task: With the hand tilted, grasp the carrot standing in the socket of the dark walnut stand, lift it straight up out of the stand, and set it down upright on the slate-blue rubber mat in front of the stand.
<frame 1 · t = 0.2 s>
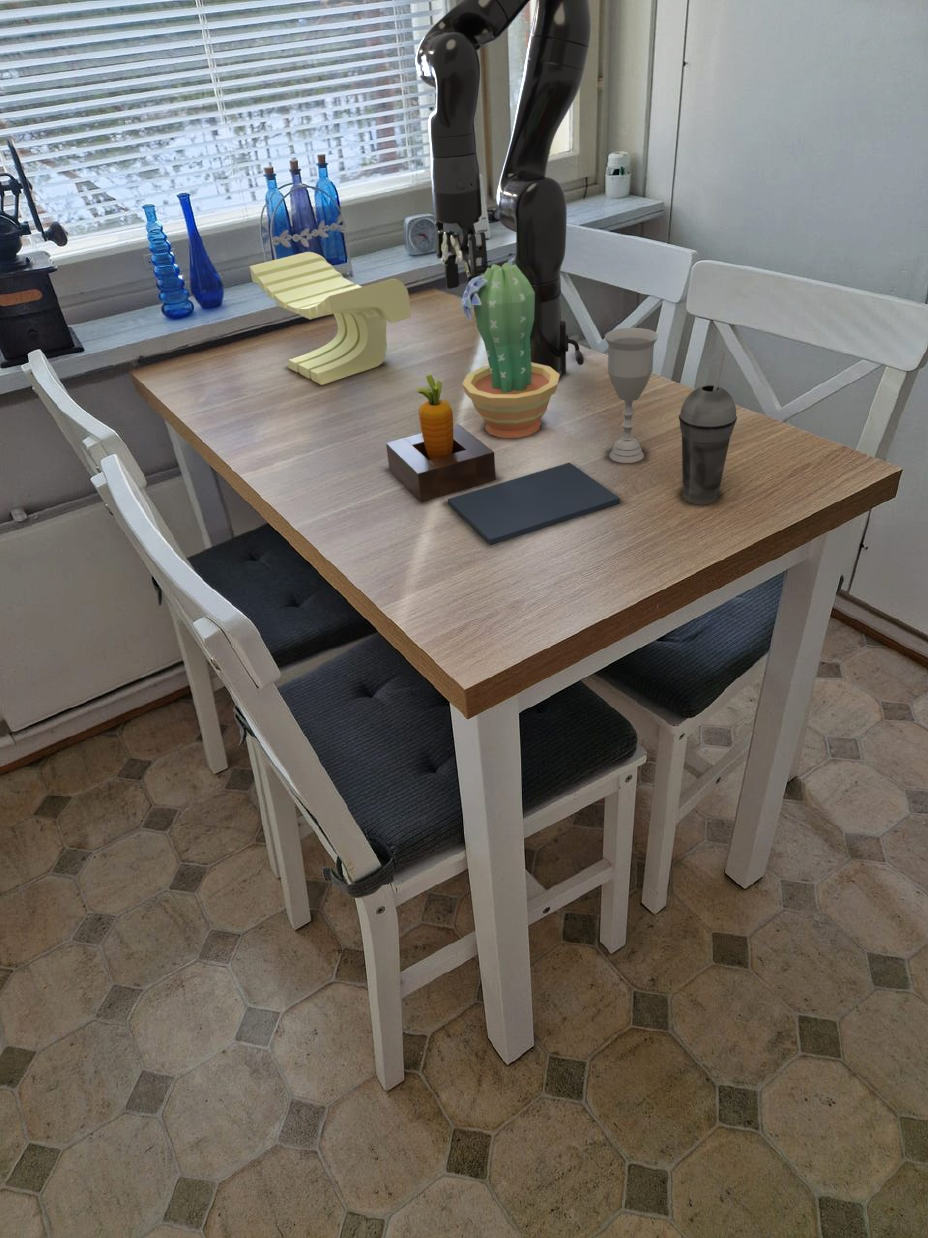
hand: (463, 293, 146), 17 cm above the table, tool pointing down, fingers open, 8 cm apart
stand: (441, 474, 131), on the table
potted cactus: (513, 427, 143), on the table
beverage cup: (699, 497, 121), on the table
slatted curved stool: (340, 365, 172), on the table
mat: (532, 503, 122), on the table
chalice: (626, 456, 132), on the table
carrot: (441, 476, 131), resting in stand
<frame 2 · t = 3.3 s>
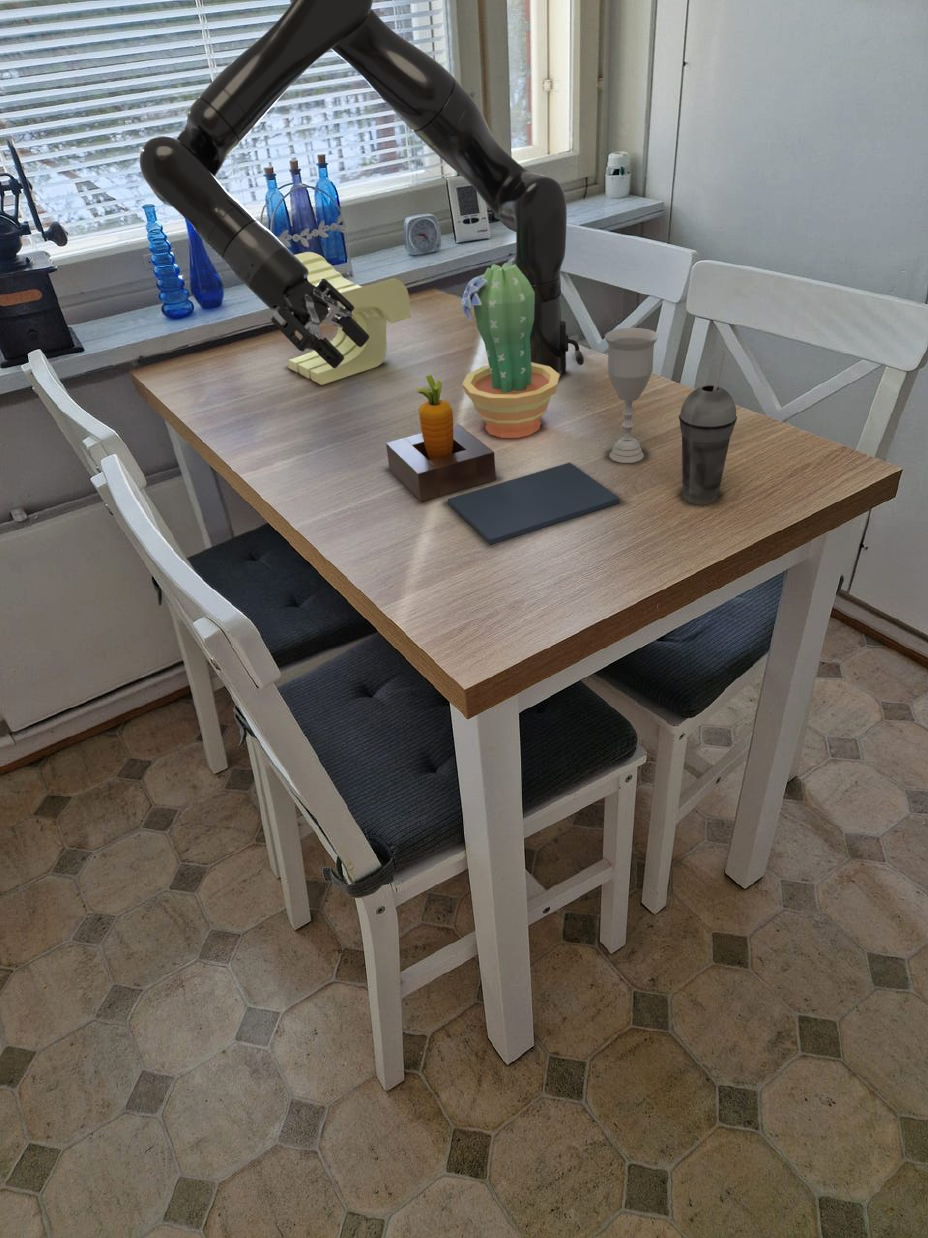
hand: (353, 352, 124), 18 cm above the table, tool tilted 45°, fingers open, 8 cm apart
nothing on the table moved.
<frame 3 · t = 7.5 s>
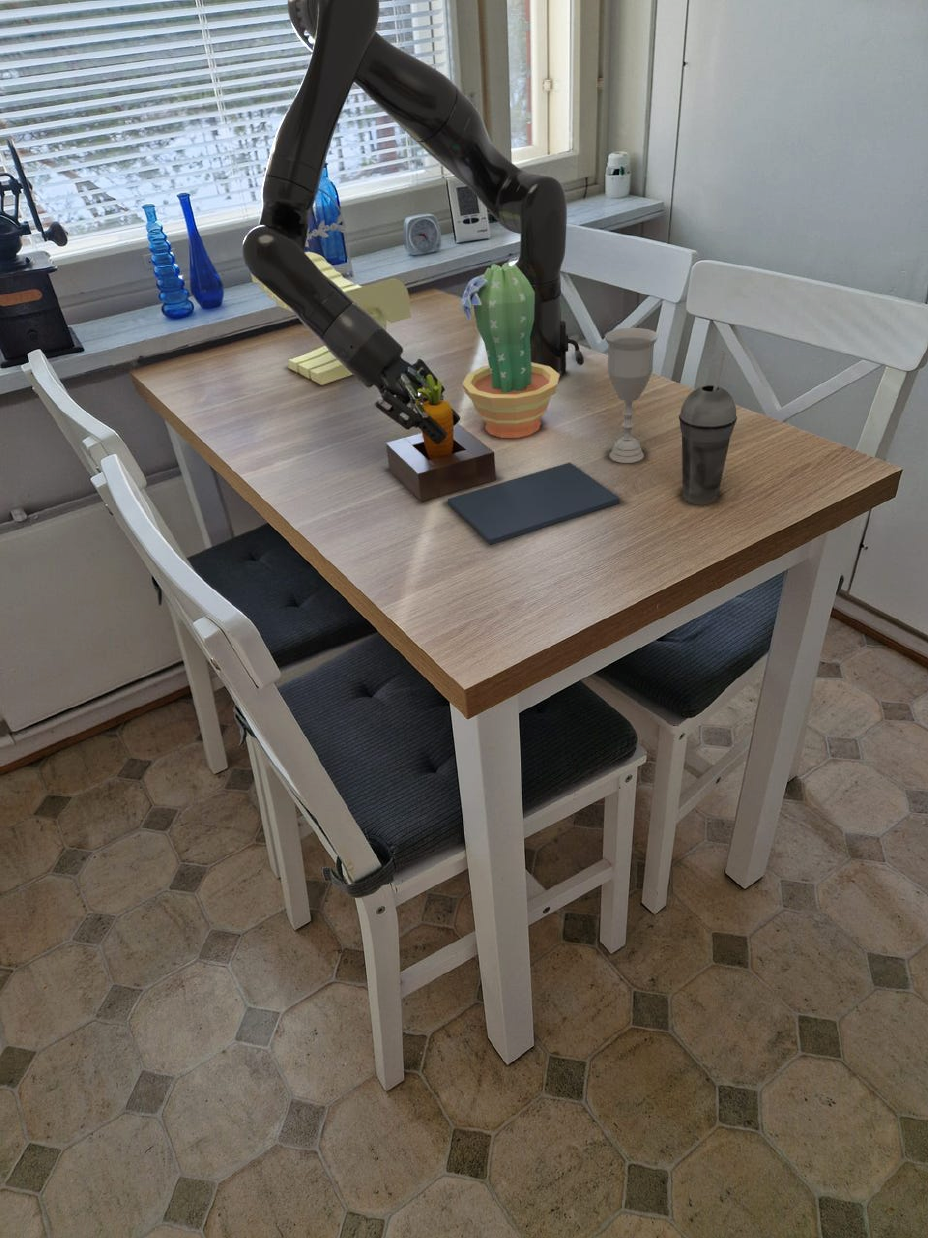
hand: (449, 431, 126), 7 cm above the table, tool tilted 45°, fingers closed on carrot, 5 cm apart
carrot: (441, 476, 131), resting in stand, touching gripper
everything else where it was.
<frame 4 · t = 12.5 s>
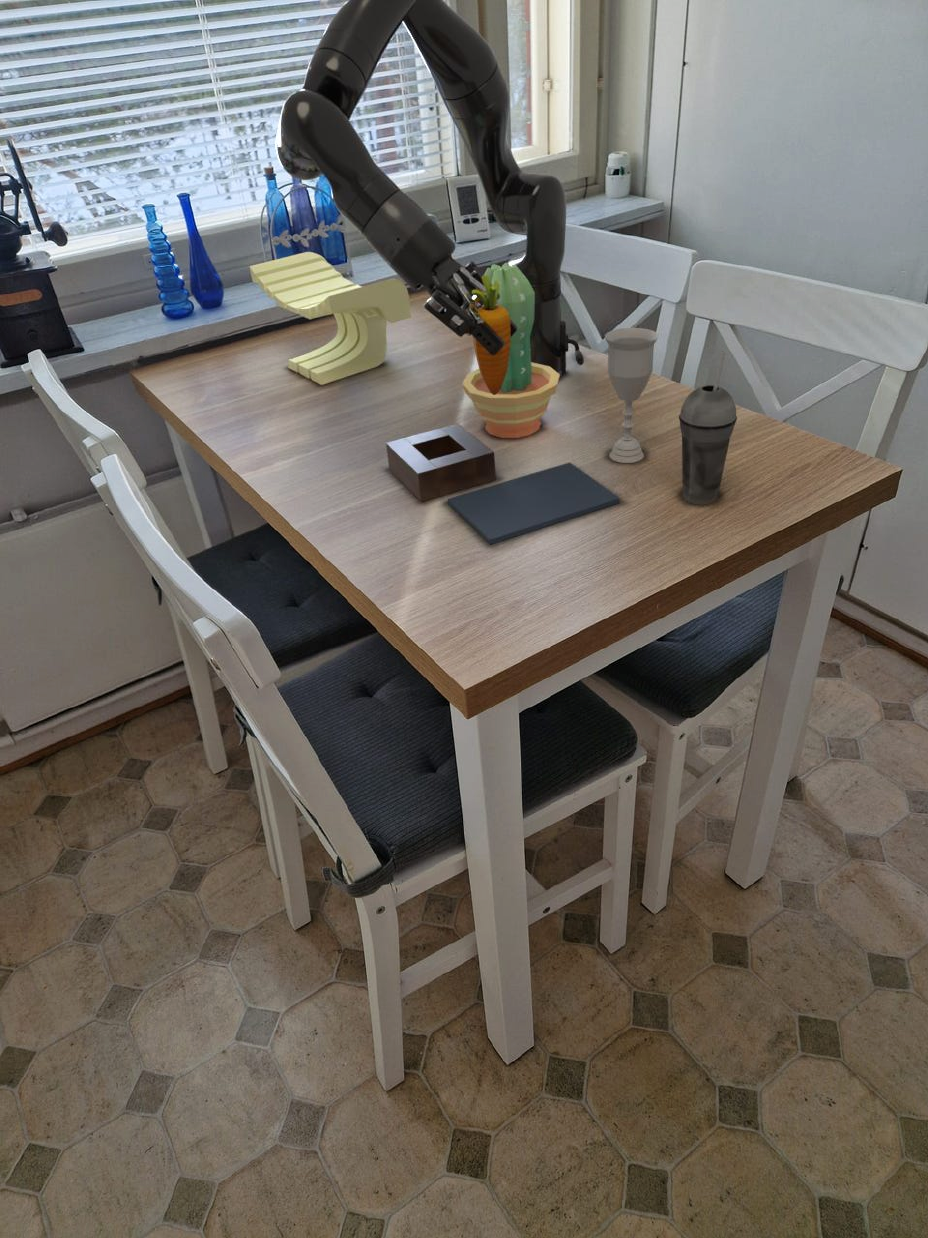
hand: (505, 341, 112), 22 cm above the table, tool tilted 45°, fingers closed on carrot, 5 cm apart
carrot: (494, 396, 117), point 15 cm above the table, touching gripper
everything else where it was.
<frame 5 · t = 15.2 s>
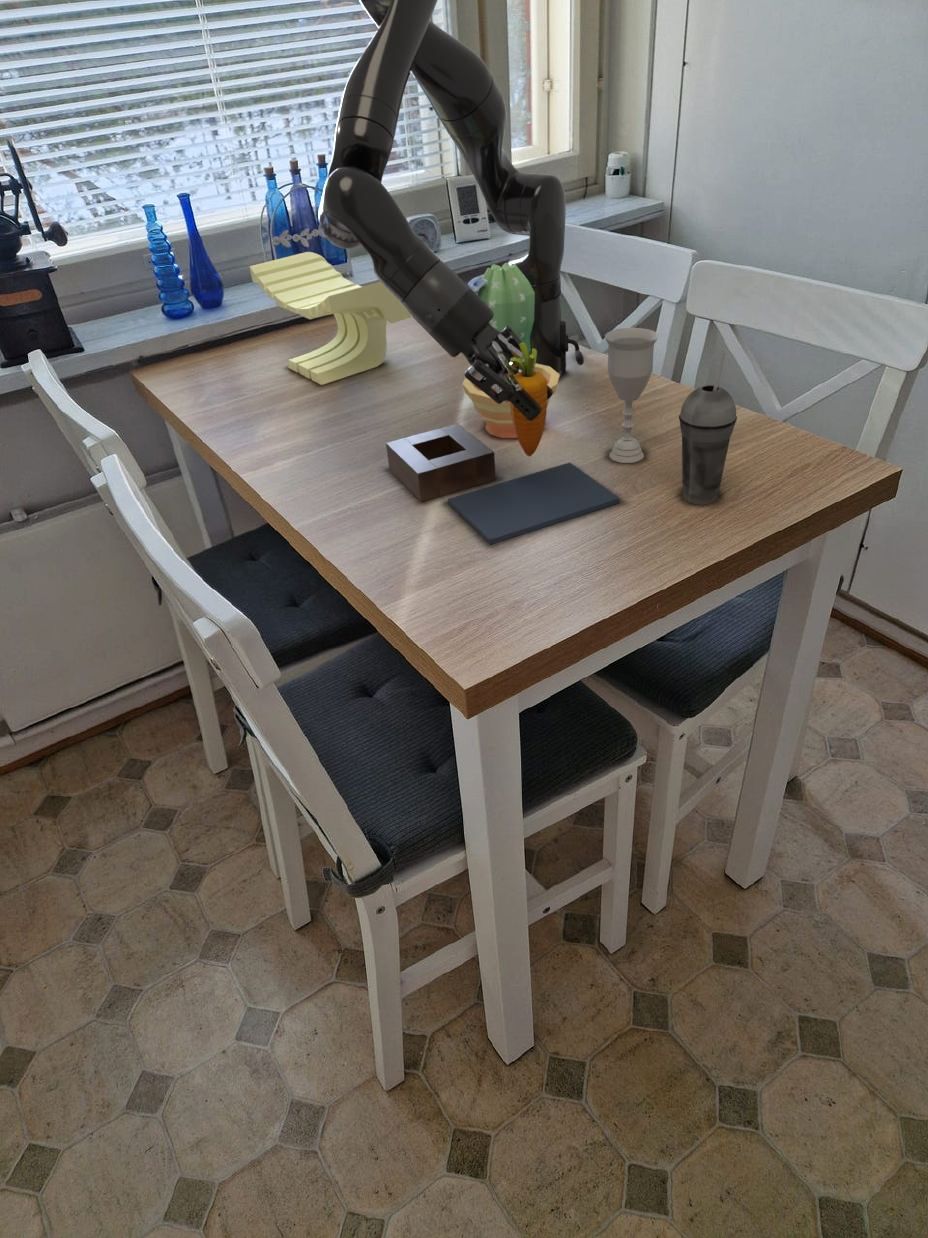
hand: (542, 406, 113), 14 cm above the table, tool tilted 45°, fingers closed on carrot, 5 cm apart
carrot: (529, 457, 118), point 7 cm above the table, touching gripper
everything else where it was.
when the fingers open (8 cm above the table, at t = 17.4 s): carrot stays where it is, resting on mat.
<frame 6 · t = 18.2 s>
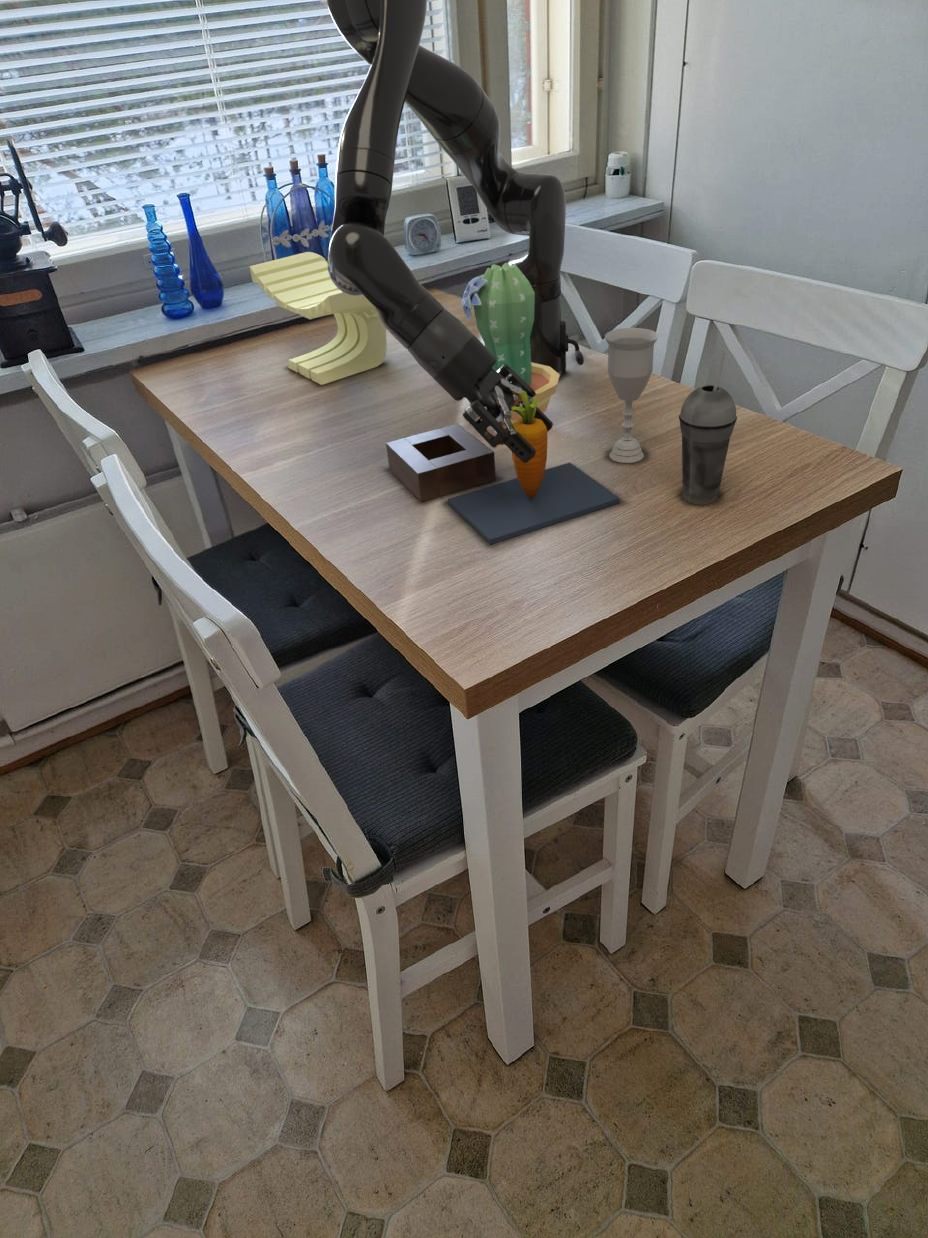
hand: (540, 443, 117), 9 cm above the table, tool tilted 45°, fingers open, 8 cm apart
carrot: (530, 499, 122), point 1 cm above the table, touching mat
everything else where it was.
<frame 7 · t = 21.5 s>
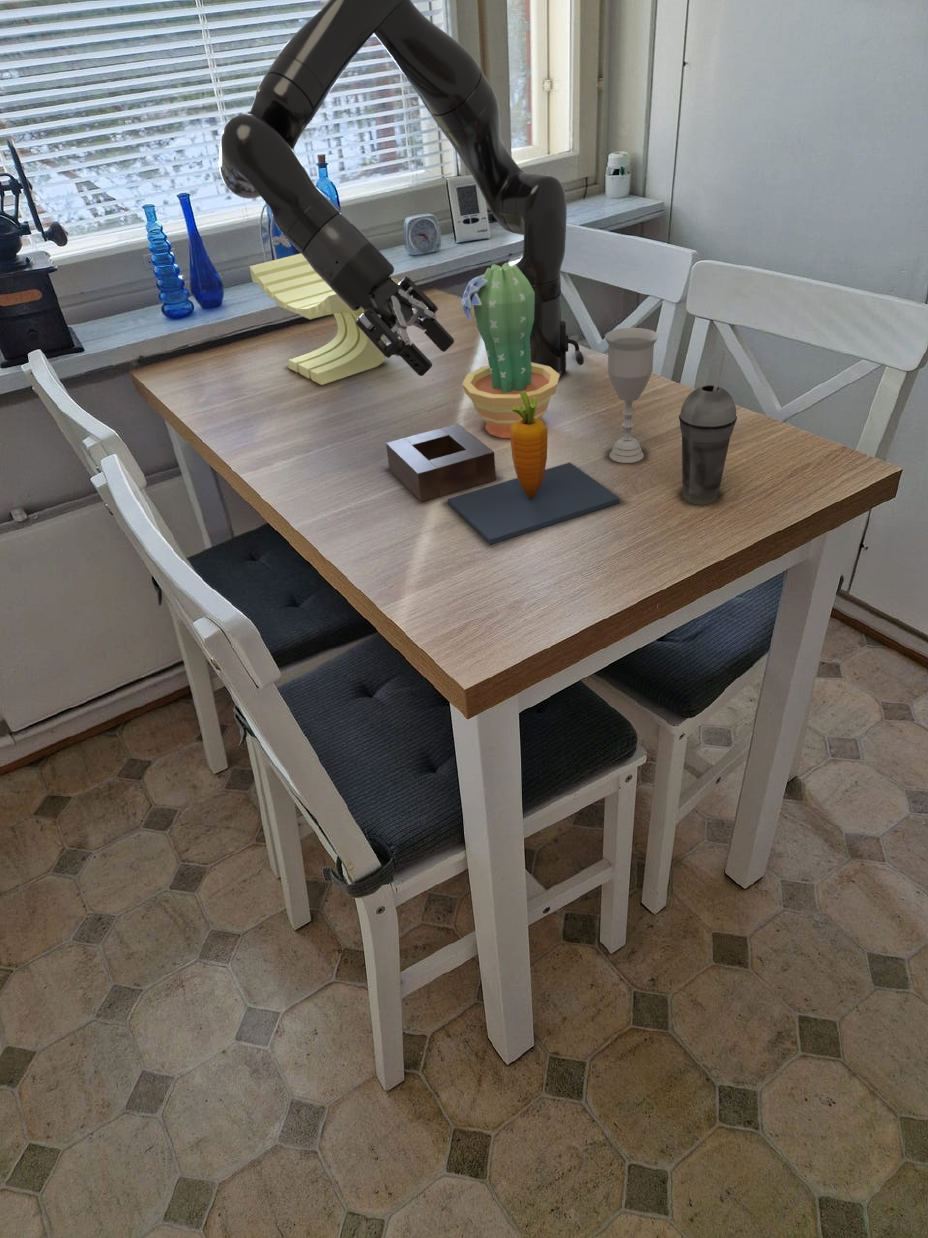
hand: (438, 358, 115), 20 cm above the table, tool tilted 40°, fingers open, 8 cm apart
nothing on the table moved.
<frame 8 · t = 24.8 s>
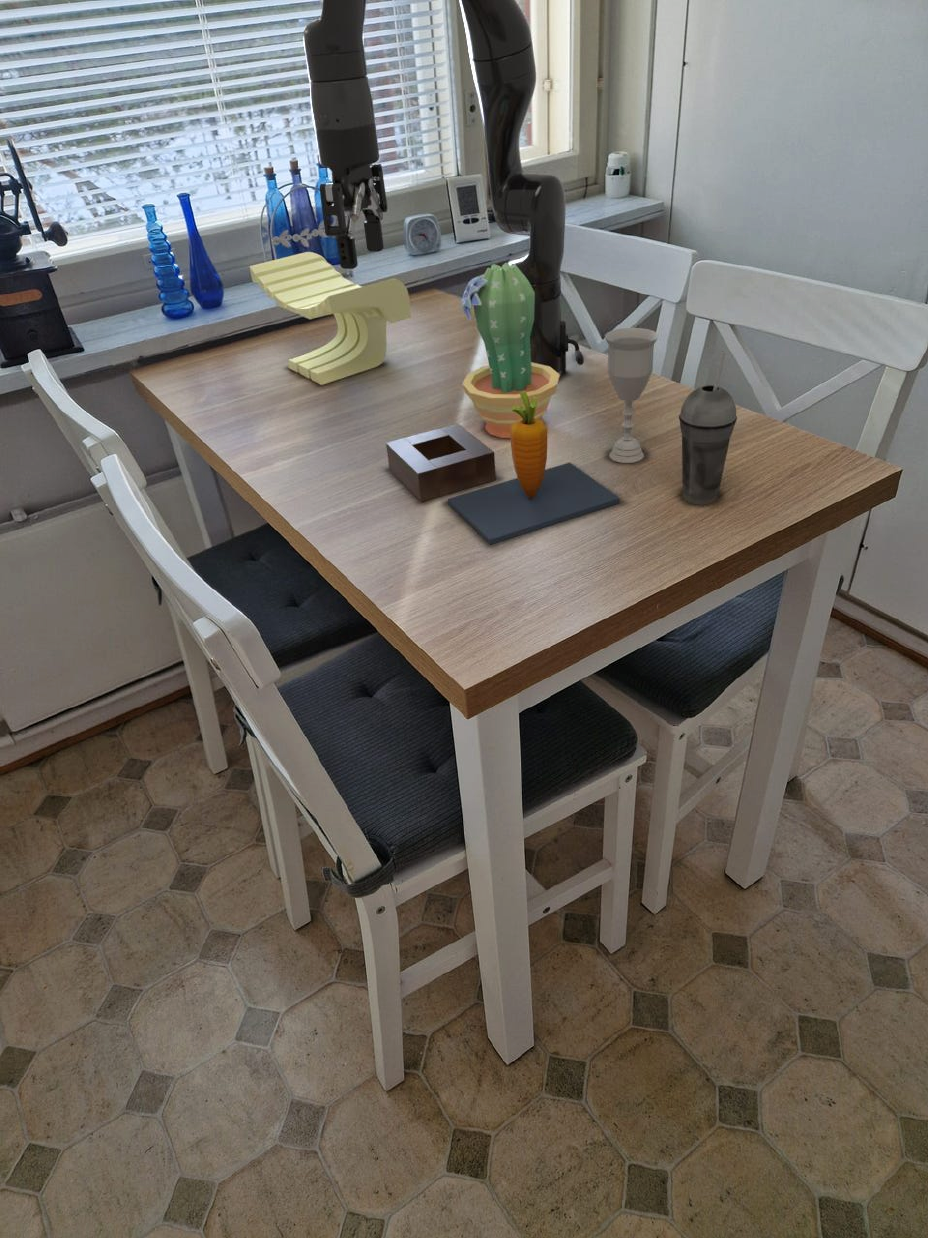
hand: (363, 259, 118), 30 cm above the table, tool pointing down, fingers open, 8 cm apart
nothing on the table moved.
at the end: carrot inside the target area (0.2 cm from its centre), point 0.6 cm above the table; carrot tilted 0°; carrot touching mat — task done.
